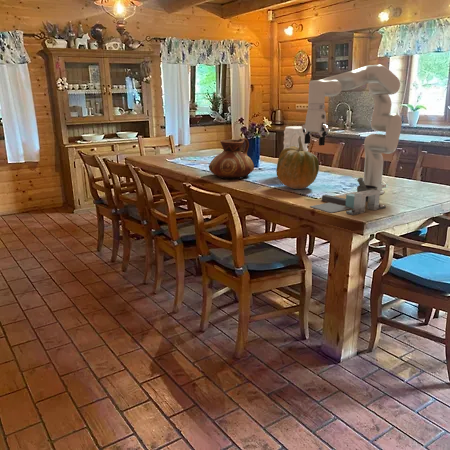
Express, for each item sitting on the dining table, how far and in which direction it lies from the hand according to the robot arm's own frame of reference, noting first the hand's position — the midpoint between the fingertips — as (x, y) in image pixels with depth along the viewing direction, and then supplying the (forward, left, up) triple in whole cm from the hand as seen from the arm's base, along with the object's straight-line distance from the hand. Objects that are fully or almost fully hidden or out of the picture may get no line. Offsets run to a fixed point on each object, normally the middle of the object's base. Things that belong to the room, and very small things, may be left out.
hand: (314, 144), depth 213 cm
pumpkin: (-18, -32, -29) cm, 47 cm away
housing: (-10, +25, -29) cm, 40 cm away
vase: (-43, -62, -29) cm, 81 cm away
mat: (-1, +12, -29) cm, 32 cm away
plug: (-10, +17, -29) cm, 35 cm away
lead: (-10, +7, -30) cm, 32 cm away
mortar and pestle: (-26, +11, -29) cm, 41 cm away
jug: (-8, -86, -29) cm, 91 cm away
